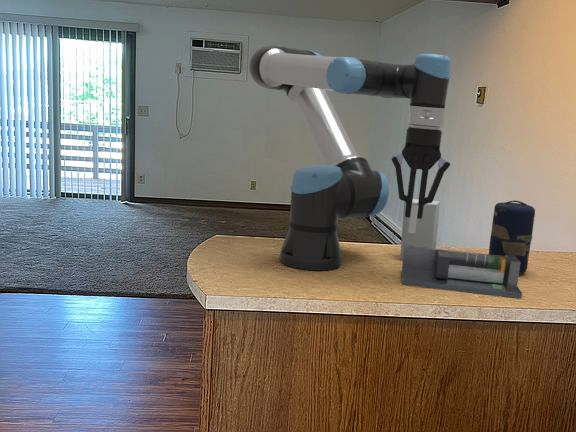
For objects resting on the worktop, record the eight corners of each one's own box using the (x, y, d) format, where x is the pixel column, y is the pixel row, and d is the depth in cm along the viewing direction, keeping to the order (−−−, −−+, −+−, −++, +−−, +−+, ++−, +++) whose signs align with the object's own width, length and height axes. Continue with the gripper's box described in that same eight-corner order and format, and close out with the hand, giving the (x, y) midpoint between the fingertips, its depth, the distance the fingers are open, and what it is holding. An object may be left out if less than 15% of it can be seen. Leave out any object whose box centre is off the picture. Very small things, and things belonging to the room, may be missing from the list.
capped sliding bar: (436, 277, 126) (439, 253, 125) (434, 271, 131) (437, 248, 130) (503, 285, 123) (507, 260, 122) (499, 279, 128) (502, 255, 127)
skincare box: (435, 259, 149) (442, 201, 146) (430, 264, 143) (437, 204, 140) (403, 254, 152) (409, 197, 149) (397, 259, 146) (404, 200, 144)
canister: (529, 278, 136) (541, 205, 133) (489, 273, 138) (499, 201, 135) (521, 268, 146) (532, 199, 142) (483, 263, 147) (493, 196, 144)
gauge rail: (402, 284, 124) (405, 253, 123) (401, 270, 136) (404, 241, 134) (521, 298, 120) (526, 265, 118) (510, 282, 131) (514, 252, 130)
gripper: (394, 125, 121) (382, 232, 126) (457, 130, 119) (442, 239, 123) (394, 124, 128) (383, 225, 133) (453, 129, 126) (439, 231, 131)
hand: (411, 231), depth 128 cm, fingers closed
